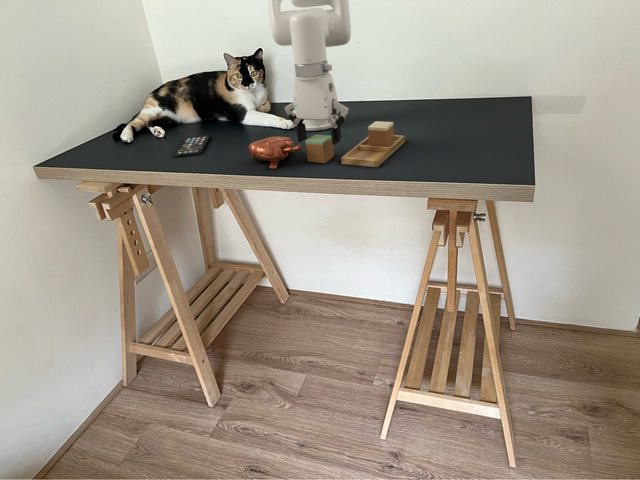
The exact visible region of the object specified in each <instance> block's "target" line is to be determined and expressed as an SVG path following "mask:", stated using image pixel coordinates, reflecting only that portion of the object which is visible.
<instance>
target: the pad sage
mask: <svg viewBox="0 0 640 480" xmlns="http://www.w3.org/2000/svg"><path fill="white" fill-rule="evenodd" d="M304 141H305V149H306V157H307V162H308V163H309V162H310V163H317V164H326V163H328V162H329V161H330V160H331V159H333V158H334V157H335V151H334V144H332V138H331V134H330V135H328V134H327V135H326V134H314V135H312V136H310V137H309V138H306V139H305V140H304Z"/></svg>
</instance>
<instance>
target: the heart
mask: <svg viewBox="0 0 640 480" xmlns="http://www.w3.org/2000/svg"><path fill="white" fill-rule="evenodd" d="M302 149H303V147H302V145H301V144H298V145H296V146H295V145H294V141H293V139H292V138H291V137H288V136H269V137H267V138H263V139H259V140H256V141H253V142H252V143H250V144H249V145H248V152H249V154H250V155H251V159H252V160H253V161H257V162H264V161H265V162H270V163H269V167H268V168H269V169H277V168H278V164H279V162H281V161H284V160H285V159H287V158H288V157H290V156H291V155H292V154H294V152H300V151H301V152H302Z"/></svg>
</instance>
